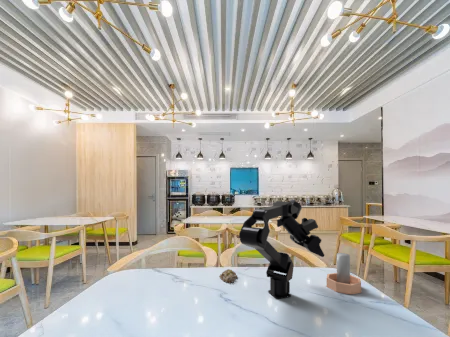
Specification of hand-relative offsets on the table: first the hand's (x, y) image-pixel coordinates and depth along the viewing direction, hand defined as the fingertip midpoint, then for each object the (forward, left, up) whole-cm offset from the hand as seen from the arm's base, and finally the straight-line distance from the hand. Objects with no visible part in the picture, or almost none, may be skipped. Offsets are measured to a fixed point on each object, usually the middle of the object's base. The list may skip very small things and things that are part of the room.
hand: (317, 253), depth 104 cm
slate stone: (+10, -4, -13) cm, 16 cm away
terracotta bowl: (+10, -4, -14) cm, 17 cm away
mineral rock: (-32, +19, -14) cm, 40 cm away
